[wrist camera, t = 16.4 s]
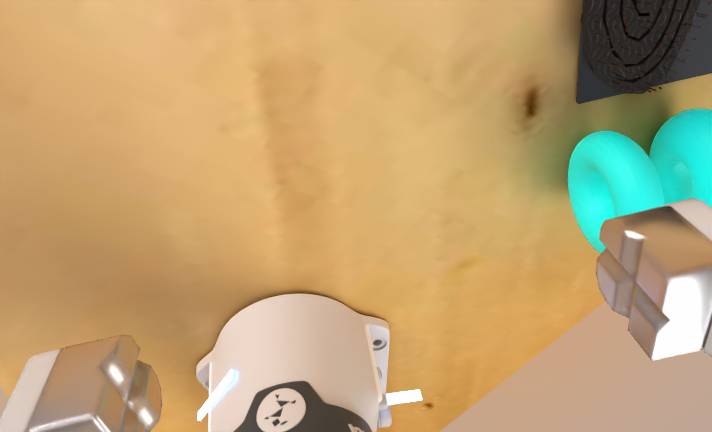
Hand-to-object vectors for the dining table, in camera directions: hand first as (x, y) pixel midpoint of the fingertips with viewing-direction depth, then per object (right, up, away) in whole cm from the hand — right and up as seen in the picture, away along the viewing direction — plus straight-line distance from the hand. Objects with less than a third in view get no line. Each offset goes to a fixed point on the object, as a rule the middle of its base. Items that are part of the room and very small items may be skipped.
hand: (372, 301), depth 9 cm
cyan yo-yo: (+22, +7, +35) cm, 42 cm away
